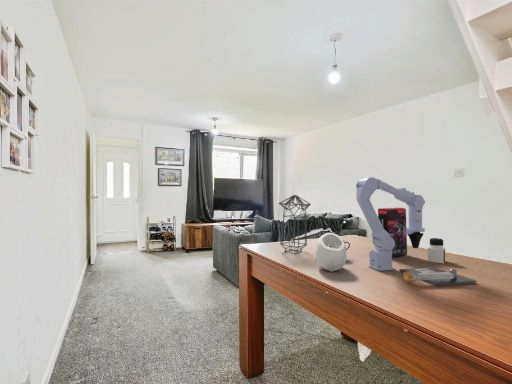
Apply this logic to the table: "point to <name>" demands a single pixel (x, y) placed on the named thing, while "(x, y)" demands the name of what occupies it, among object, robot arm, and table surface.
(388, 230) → the graphics card box
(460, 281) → the panel
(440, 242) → the medicine bottle
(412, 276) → the cable arm
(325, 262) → the skull planter
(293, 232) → the geometric lantern
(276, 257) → the table surface
